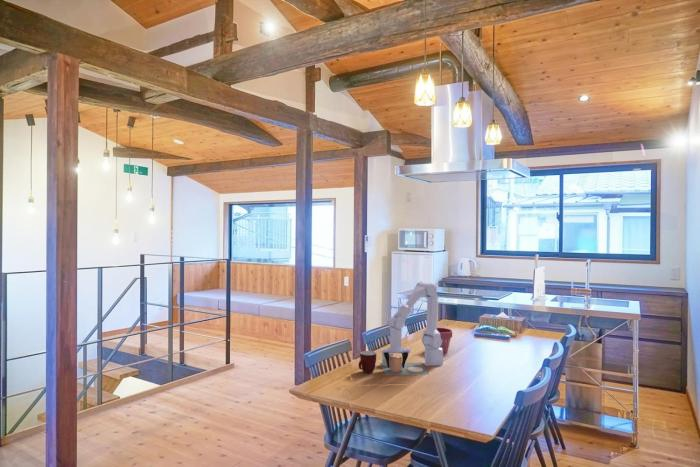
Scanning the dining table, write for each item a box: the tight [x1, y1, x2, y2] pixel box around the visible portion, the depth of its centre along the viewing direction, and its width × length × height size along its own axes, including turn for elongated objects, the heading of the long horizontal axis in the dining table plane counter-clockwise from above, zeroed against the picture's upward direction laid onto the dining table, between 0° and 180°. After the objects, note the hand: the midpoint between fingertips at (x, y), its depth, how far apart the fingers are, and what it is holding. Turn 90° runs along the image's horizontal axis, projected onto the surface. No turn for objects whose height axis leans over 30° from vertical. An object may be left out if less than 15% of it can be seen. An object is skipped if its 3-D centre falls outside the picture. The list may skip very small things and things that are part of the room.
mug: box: [358, 350, 377, 374], centre depth 225 cm, size 11×8×10 cm
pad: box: [407, 367, 423, 372], centre depth 229 cm, size 8×8×1 cm
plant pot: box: [437, 327, 453, 354], centre depth 266 cm, size 14×14×13 cm
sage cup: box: [381, 353, 394, 366], centre depth 237 cm, size 6×6×6 cm
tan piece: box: [390, 355, 402, 372], centre depth 229 cm, size 6×6×6 cm
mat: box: [379, 361, 430, 376], centre depth 231 cm, size 22×20×1 cm
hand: (395, 367), depth 229 cm, fingers open, 7 cm apart
